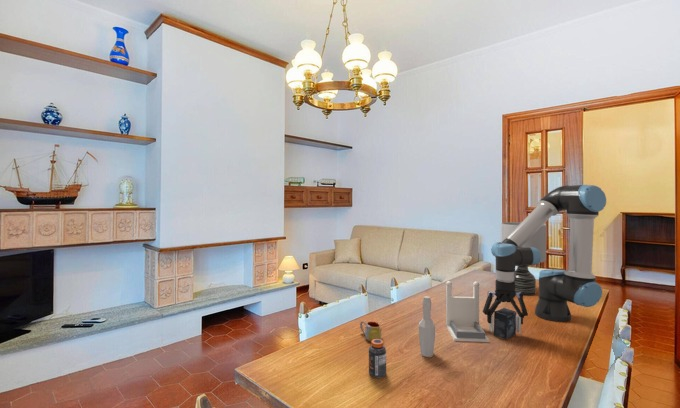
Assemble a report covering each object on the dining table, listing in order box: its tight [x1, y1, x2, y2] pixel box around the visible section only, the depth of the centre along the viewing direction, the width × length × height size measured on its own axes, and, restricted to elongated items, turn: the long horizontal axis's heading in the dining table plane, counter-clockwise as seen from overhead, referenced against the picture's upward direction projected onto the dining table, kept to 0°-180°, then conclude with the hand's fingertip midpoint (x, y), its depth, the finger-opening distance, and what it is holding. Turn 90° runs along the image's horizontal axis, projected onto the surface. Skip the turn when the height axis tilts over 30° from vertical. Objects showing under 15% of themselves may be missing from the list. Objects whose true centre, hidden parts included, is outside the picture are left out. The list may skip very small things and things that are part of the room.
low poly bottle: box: [418, 295, 436, 358], centre depth 124 cm, size 6×6×22 cm
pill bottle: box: [368, 339, 387, 379], centre depth 111 cm, size 6×6×11 cm
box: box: [493, 307, 517, 340], centre depth 141 cm, size 8×6×11 cm
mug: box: [359, 320, 383, 343], centre depth 140 cm, size 12×7×7 cm, turn 33°
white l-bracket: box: [445, 280, 490, 343], centre depth 142 cm, size 15×16×21 cm
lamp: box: [500, 221, 547, 297], centre depth 201 cm, size 24×24×42 cm
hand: (504, 331), depth 141 cm, fingers open, 10 cm apart
